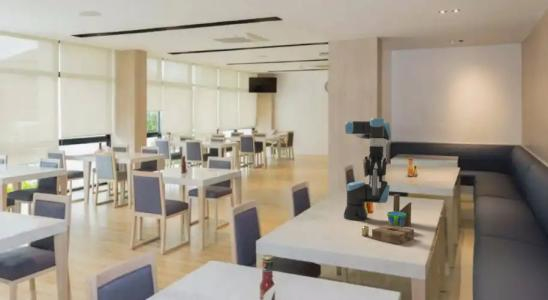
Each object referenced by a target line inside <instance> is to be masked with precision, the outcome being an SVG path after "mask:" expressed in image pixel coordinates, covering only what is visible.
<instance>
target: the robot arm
mask: <svg viewBox="0 0 548 300" xmlns="http://www.w3.org/2000/svg"><path fill="white" fill-rule="evenodd" d="M344 125H345V126H344V129H345V130H344V132H345V133H346V135H353V136H354V137H356V138H360V139H365V140H369V145H370V146H369V154H368V156H364V160H365V172H366V173H365V174H367V175H368V176H369V177H368V179H369V181H368V183H366V181H360V180H359V181H353V182H349V183H347V185H346V207H345V210H344V212H343V218H344V219H346V220H351V221H364V220H367V219H368V211H367V210H366V209H367V208H366V203H372V204H373V203H375V204H386V203H388V199H389V194H390V187H391V185H390V184H388V181H387V180H386V175H387V165H388V160H389V157H387V144H389V140H391V139H392V135H391V125H390V122H388V121H385V119H384V118H383V117H372V118H370V120H369V121H366V120H365V121H364V120H363V121H357V120H354V121H353V120H350V121H349V120H348V121H347V120H346V121H345V124H344ZM373 168H378V174H379V176H377V188H379V195H378V196H374V195H372V177H373Z"/></svg>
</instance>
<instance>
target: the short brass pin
mask: <svg viewBox="0 0 548 300" xmlns="http://www.w3.org/2000/svg"><path fill="white" fill-rule="evenodd" d="M369 230H370V226H368V225H367V226H366V225H362V226H361V236H362V237H369V234H370V233H369V232H370V231H369Z"/></svg>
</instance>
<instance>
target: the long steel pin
mask: <svg viewBox="0 0 548 300" xmlns="http://www.w3.org/2000/svg"><path fill="white" fill-rule="evenodd" d="M377 176H379V174H378V168H373V177H372V195H374V196H378V195H379V188H377Z"/></svg>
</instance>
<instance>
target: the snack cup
mask: <svg viewBox="0 0 548 300" xmlns="http://www.w3.org/2000/svg"><path fill="white" fill-rule="evenodd" d="M386 216H387V221H388V225H392V226H398V227H403V228H405V227H404V222H405V217H406V213H403V212H396V211H388V212H387V213H386Z"/></svg>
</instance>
